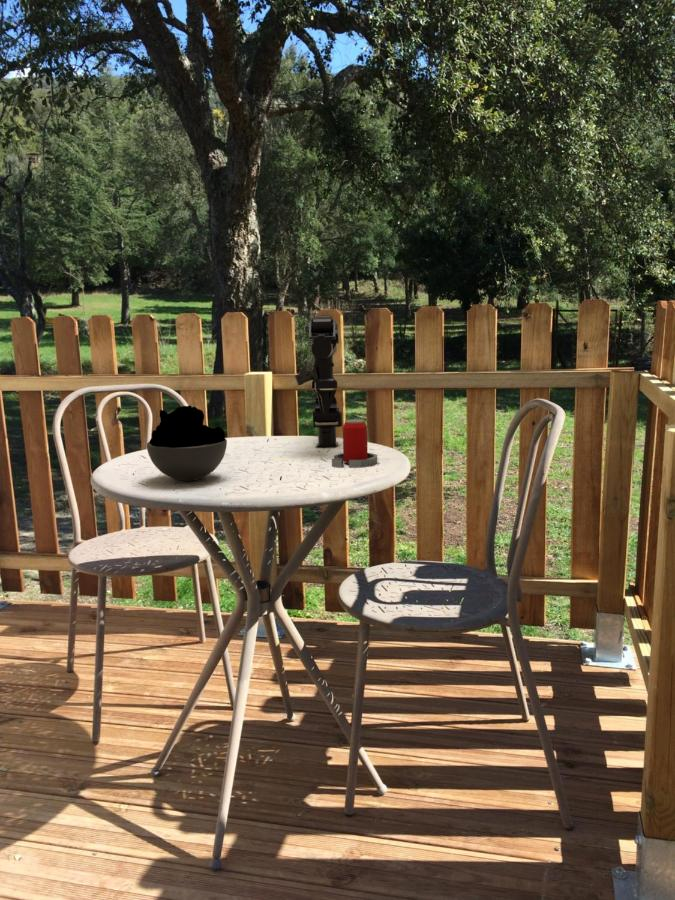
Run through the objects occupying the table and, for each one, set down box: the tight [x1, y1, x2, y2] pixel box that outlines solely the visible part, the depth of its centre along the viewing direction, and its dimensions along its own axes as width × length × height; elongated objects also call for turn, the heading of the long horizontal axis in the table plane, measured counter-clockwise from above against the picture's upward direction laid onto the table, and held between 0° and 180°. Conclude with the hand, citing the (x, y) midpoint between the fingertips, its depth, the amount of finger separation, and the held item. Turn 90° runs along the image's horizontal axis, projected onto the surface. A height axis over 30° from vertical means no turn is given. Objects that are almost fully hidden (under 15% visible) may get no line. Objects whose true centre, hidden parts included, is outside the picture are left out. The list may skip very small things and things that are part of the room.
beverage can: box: [342, 418, 369, 465], centre depth 210 cm, size 7×7×12 cm
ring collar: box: [331, 452, 378, 469], centre depth 211 cm, size 12×12×2 cm
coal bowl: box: [146, 405, 228, 482], centre depth 192 cm, size 20×20×19 cm
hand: (324, 413), depth 223 cm, fingers open, 9 cm apart
